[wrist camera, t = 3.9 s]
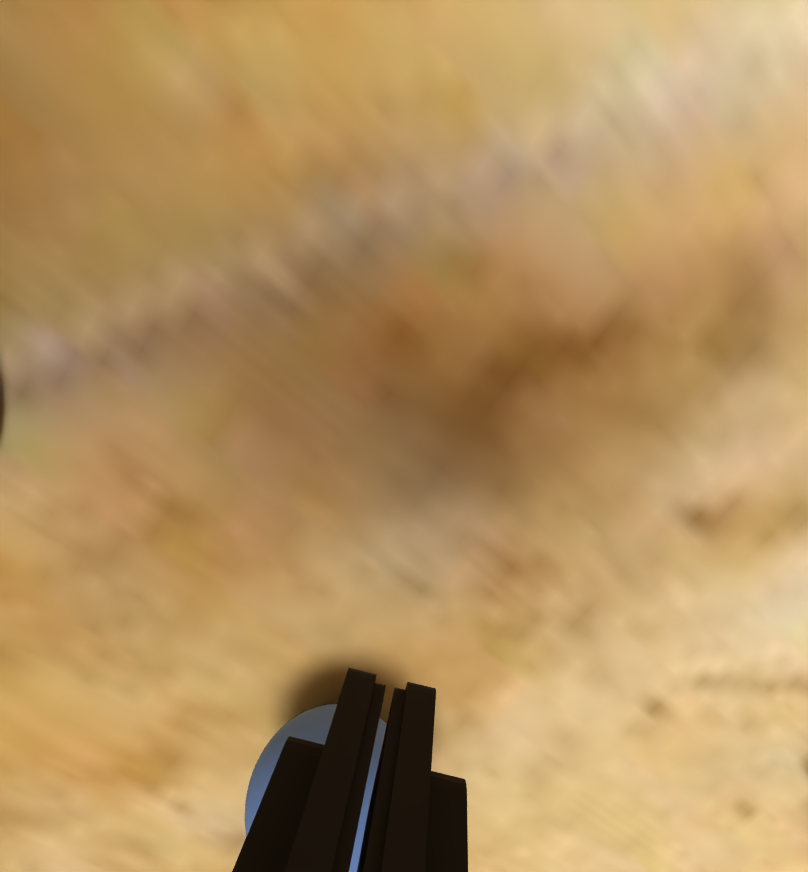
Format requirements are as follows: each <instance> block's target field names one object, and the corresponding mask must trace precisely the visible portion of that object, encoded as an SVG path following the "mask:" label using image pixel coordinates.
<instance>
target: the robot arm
mask: <svg viewBox="0 0 808 872" xmlns="http://www.w3.org/2000/svg"><path fill="white" fill-rule="evenodd" d="M375 680H376V674H372V673H368V672H363V671H359V670H355V669H351V668H349V669H348V672H347V675H346V678H345V681H344V684H343V687H342V691H341V694H340V697H339V700H338V703H337V707H336V710H335V713H334V716H333V719H332V723H331V726H330V729H329V732H328V735H327V739H326V742H325V745H323V744H319V743H315V742H311V741H307V740H303V739H299V738H295V737H291V736H289V737H288V738H287V740H286V742H285V744H284V746H283V749H282V751H281V754H280V756H279V758H278V761H277V763H276V766H275V768H274V771H273V773H272V776H271V778H270V781H269V783H268V785H267V788H266V790H265V793H264V795H263V798H262V800H261V803H260V805H259V808H258V810H257V812H256V815H255V817H254V820H253V822H252V825H251V827H250V830H249V832H248V835H247V837H246V839H245V842H244V844H243V847H242V849H241V852H240V854H239V857H238V859H237V862H236V864H235V866H234V869H233V871H232V872H349V868H350V863H351V858H352V853H353V848H354V843H355V838H356V833H357V828H358V823H359V818H360V813H361V808H362V803H363V798H364V793H365V788H366V783H367V778H368V773H369V768H370V763H371V758H372V753H373V748H374V743H375V738H376V733H377V728H378V722H379V717H380V712H381V707H382V702H383V697H384V692H385V687H386V685H382V684H377V683H375ZM435 699H436V689H435V688H431V687H427V686H423V685H418V684H414V683H410V682H407V685H406V689H405V690H403V689H399V688H395V689H394V693H393V698H392V703H391V707H390V712H389V716H388V721H387V726H386V730H385V735H384V739H383V744H382V749H381V753H380V758H379V762H378V767H377V772H376V776H375V781H374V785H373V790H372V795H371V799H370V804H369V809H368V814H367V819H366V825H365V830H364V836H363V841H362V846H361V852H360V857H359V863H358V868H357V872H468V843H467V789H466V781H465V779H462V778H458V777H454V776H450V775H445V774H441V773H437V772H433V771H431V762H432V746H433V731H434V715H435Z"/></svg>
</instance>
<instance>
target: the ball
mask: <svg viewBox="0 0 808 872" xmlns="http://www.w3.org/2000/svg"><path fill="white" fill-rule="evenodd" d="M336 707H337V704H329V705H323V706H319V707H316V708H313V709H310V710H308V711H305V712H303V713H301V714H299V715H298V716H296V717H295V718H293V719H292V720H290V721H289V722H288V723H286V724H285V725H284V726H283V727H282V728H281V729H280V730H279V731H278V732H277V733H276V734H275V735H274V736H273V738H272V739H271V740H270V741H269V743H268V744H267V746H266V747H265V749H264V750H263V752H262V753H261V755H260V757H259V759H258V761H257V763H256V765H255V768H254V770H253V773H252V776H251V779H250V782H249V786H248V791H247V796H246V804H245V828H246V837H247V835H248V832H249V830H250V827H251V825H252V822H253V820H254V817H255V815H256V812H257V810H258V808H259V805H260V803H261V800H262V798H263V795H264V793H265V790H266V788H267V785H268V783H269V781H270V778H271V776H272V773H273V771H274V768H275V766H276V763H277V761H278V758H279V756H280V754H281V751H282V749H283V746H284V744H285V742H286V740H287V738H288V737H289V736H291V737H295V738H299V739H303V740H307V741H311V742H315V743H319V744H323V745H325V742H326V739H327V735H328V732H329V729H330V726H331V723H332V719H333V716H334V713H335V710H336ZM386 726H387V724H386V723H385V722H384V721H383V720H382V719H380V718H379V722H378V728H377V733H376V738H375V743H374V748H373V753H372V758H371V763H370V768H369V773H368V778H367V783H366V788H365V793H364V798H363V803H362V808H361V813H360V818H359V823H358V828H357V833H356V838H355V843H354V848H353V853H352V858H351V863H350V868H349V872H357V868H358V863H359V857H360V852H361V846H362V841H363V836H364V830H365V825H366V819H367V814H368V809H369V804H370V799H371V795H372V790H373V785H374V781H375V776H376V772H377V767H378V762H379V758H380V753H381V749H382V744H383V739H384V735H385V730H386Z"/></svg>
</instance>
